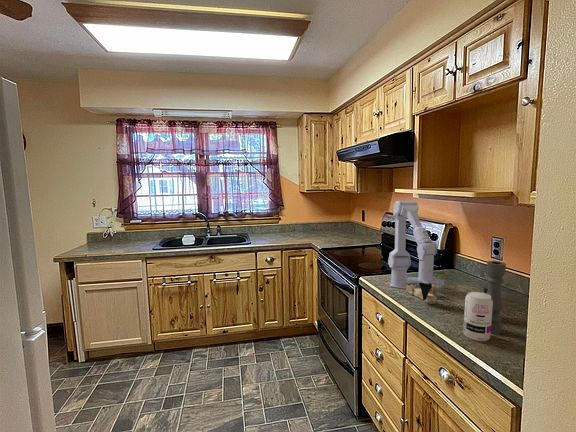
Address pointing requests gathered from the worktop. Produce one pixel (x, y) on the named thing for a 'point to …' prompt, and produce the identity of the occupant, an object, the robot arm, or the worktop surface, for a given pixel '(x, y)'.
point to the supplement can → (478, 316)
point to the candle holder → (495, 292)
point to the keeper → (432, 289)
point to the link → (420, 294)
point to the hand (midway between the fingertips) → (424, 299)
